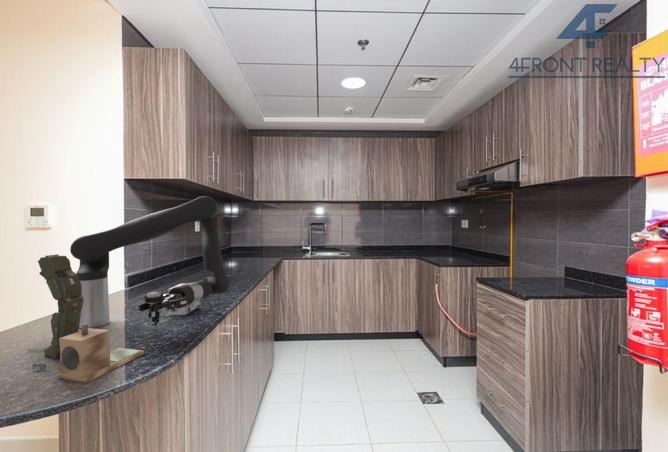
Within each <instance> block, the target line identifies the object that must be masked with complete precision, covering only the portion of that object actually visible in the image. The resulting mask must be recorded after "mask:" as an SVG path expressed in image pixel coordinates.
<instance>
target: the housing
mask: <svg viewBox="0 0 668 452" xmlns="http://www.w3.org/2000/svg"><path fill="white" fill-rule="evenodd" d="M81 327H82V328H81V330H80V331H79V330H78V332H76V333H73V334H70V335H67V336H64V337H61V338H59V342H60V359H59V360H60V373H59V374H58V375H57V376H58V379H61V380H66V381H72V382H78V383H84V384H86V383H88V382H90V381H92V380H95V379H96V378H99V377H100V376H102V375H104V374H106V373H108V372H110V371H113V370H116V368H119V367H121V366H122V365H125V364H127V363H128V362H131V361H133V360H135V359H136V358H137V359H138V358H139V357H141V356H143V355H144V353H145V352H144V350H141V349H135V348H134V349H132V348H124V347H118V348H115V349H113V350H111V346H110V345H111V344H110V330H109V329H102V328H101V329H100V328H88V324H83V325H81Z"/></svg>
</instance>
